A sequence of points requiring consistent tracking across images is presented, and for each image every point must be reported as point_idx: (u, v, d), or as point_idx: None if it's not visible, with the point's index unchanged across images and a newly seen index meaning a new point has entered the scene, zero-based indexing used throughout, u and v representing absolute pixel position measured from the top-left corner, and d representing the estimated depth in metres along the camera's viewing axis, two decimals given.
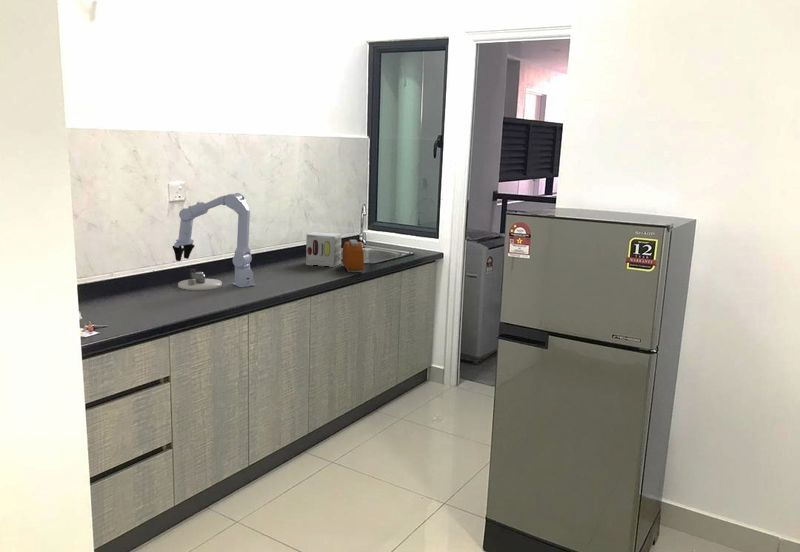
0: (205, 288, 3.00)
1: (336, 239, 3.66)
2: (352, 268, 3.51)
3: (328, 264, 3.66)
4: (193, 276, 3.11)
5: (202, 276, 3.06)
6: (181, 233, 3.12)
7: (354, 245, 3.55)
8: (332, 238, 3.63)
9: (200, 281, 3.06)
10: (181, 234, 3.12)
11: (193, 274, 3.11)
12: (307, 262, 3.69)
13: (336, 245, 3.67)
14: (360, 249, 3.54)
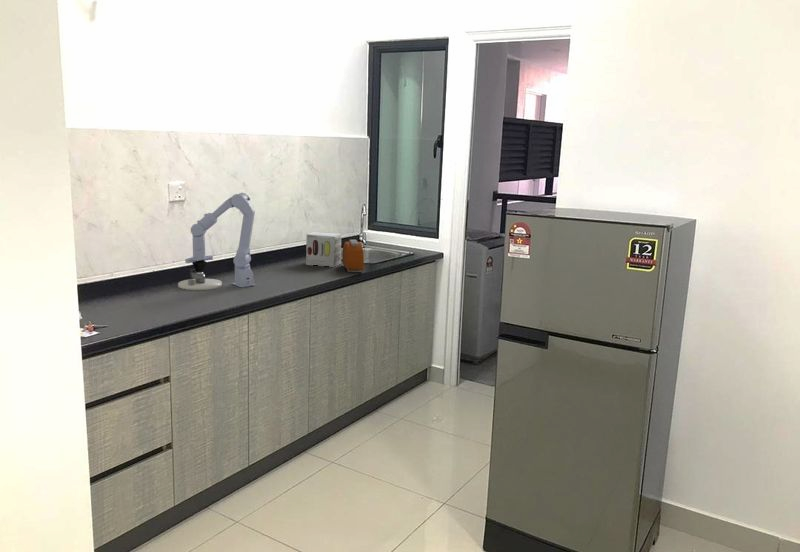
0: (205, 288, 3.00)
1: (336, 239, 3.66)
2: (352, 268, 3.51)
3: (328, 264, 3.66)
4: (193, 276, 3.11)
5: (202, 276, 3.06)
6: (193, 249, 3.10)
7: (354, 245, 3.55)
8: (332, 238, 3.63)
9: (200, 281, 3.06)
10: (193, 250, 3.10)
11: (193, 274, 3.11)
12: (307, 262, 3.69)
13: (336, 245, 3.67)
14: (360, 249, 3.54)
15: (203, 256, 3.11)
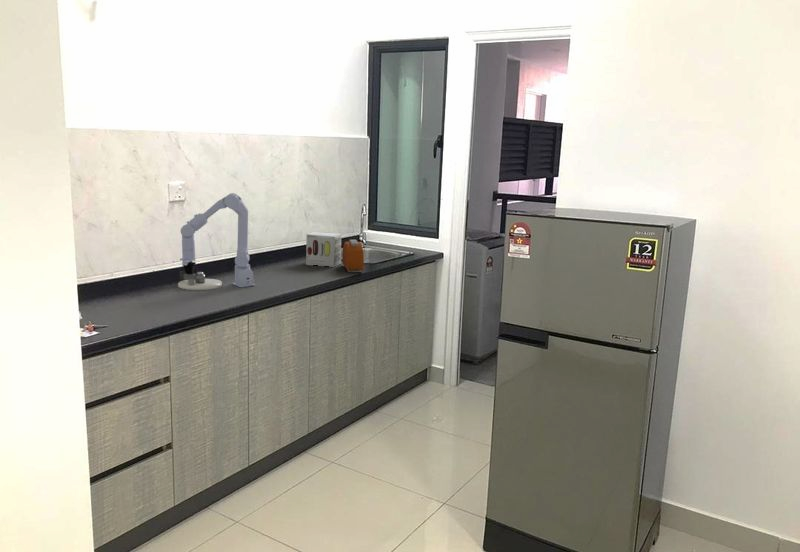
0: (205, 288, 3.00)
1: (336, 239, 3.66)
2: (352, 268, 3.51)
3: (328, 264, 3.66)
4: (188, 278, 3.07)
5: (204, 275, 3.08)
6: (185, 250, 3.05)
7: (354, 245, 3.55)
8: (332, 238, 3.63)
9: (203, 281, 3.07)
10: (185, 251, 3.05)
11: (188, 276, 3.07)
12: (307, 262, 3.69)
13: (336, 245, 3.67)
14: (360, 249, 3.54)
15: (194, 257, 3.09)
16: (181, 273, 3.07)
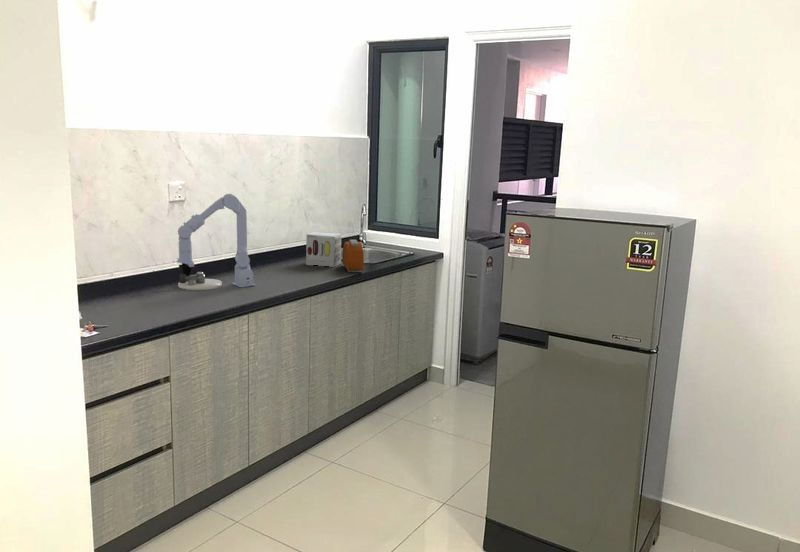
0: (205, 288, 3.00)
1: (336, 239, 3.66)
2: (352, 268, 3.51)
3: (328, 264, 3.66)
4: None
5: None
6: (186, 252, 3.01)
7: (354, 245, 3.55)
8: (332, 238, 3.63)
9: (204, 280, 3.09)
10: (186, 253, 3.01)
11: (190, 277, 3.04)
12: (307, 262, 3.69)
13: (336, 245, 3.67)
14: (360, 249, 3.54)
15: None
16: (183, 276, 3.01)
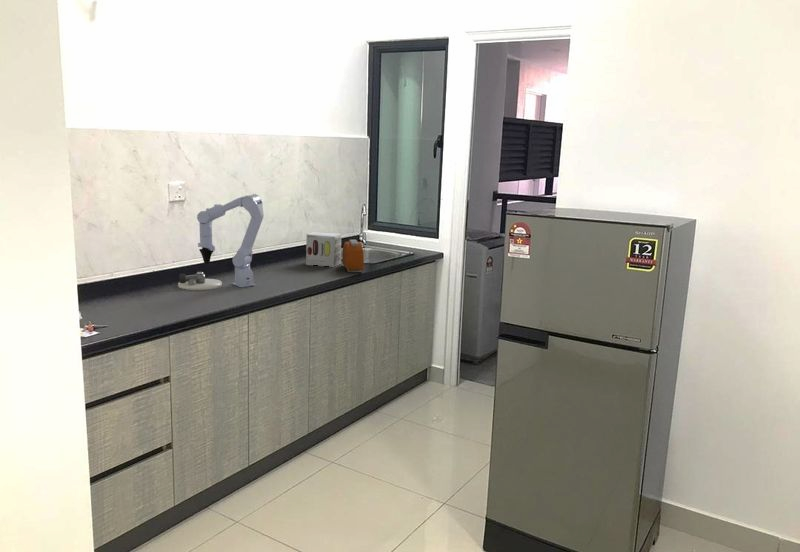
0: (205, 288, 3.00)
1: (336, 239, 3.66)
2: (352, 268, 3.51)
3: (328, 264, 3.66)
4: None
5: None
6: (207, 236, 3.11)
7: (354, 245, 3.55)
8: (332, 238, 3.63)
9: (204, 280, 3.09)
10: (207, 237, 3.11)
11: (190, 277, 3.04)
12: (307, 262, 3.69)
13: (336, 245, 3.67)
14: (360, 249, 3.54)
15: None
16: (183, 276, 3.01)
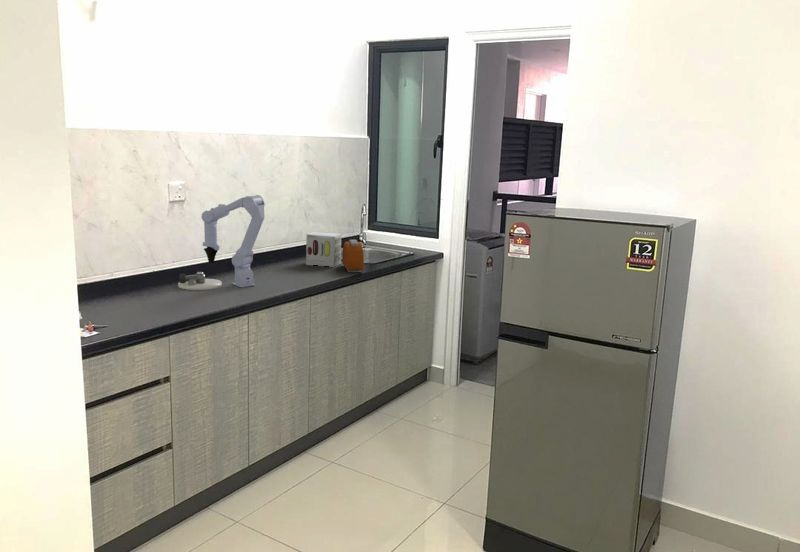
0: (205, 288, 3.00)
1: (336, 239, 3.66)
2: (352, 268, 3.51)
3: (328, 264, 3.66)
4: None
5: None
6: (212, 236, 3.13)
7: (354, 245, 3.55)
8: (332, 238, 3.63)
9: (204, 280, 3.09)
10: (212, 237, 3.13)
11: (190, 277, 3.04)
12: (307, 262, 3.69)
13: (336, 245, 3.67)
14: (360, 249, 3.54)
15: None
16: (183, 276, 3.01)
